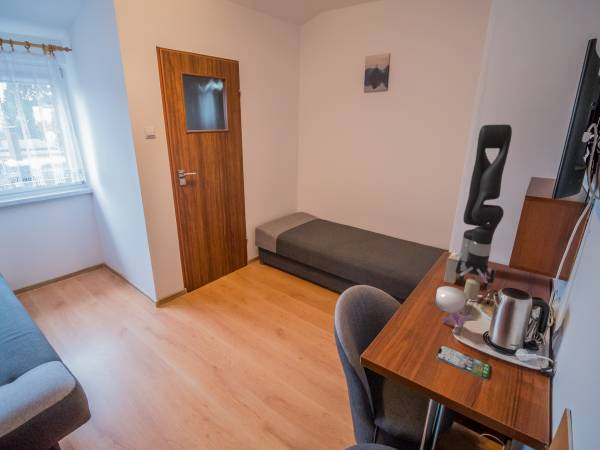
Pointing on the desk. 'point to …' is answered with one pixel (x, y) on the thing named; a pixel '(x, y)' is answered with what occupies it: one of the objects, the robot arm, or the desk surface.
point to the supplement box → (452, 268)
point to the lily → (457, 319)
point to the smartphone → (464, 362)
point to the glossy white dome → (450, 299)
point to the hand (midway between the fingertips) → (472, 286)
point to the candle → (472, 288)
